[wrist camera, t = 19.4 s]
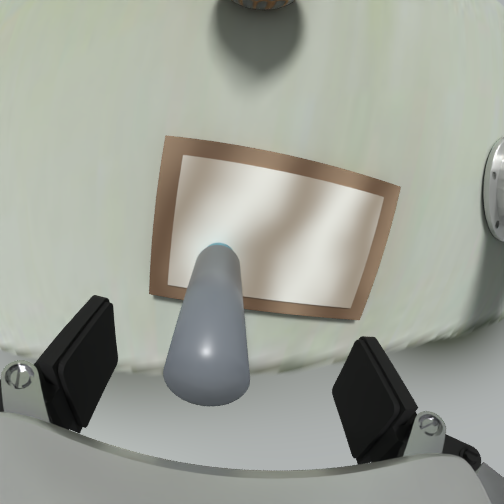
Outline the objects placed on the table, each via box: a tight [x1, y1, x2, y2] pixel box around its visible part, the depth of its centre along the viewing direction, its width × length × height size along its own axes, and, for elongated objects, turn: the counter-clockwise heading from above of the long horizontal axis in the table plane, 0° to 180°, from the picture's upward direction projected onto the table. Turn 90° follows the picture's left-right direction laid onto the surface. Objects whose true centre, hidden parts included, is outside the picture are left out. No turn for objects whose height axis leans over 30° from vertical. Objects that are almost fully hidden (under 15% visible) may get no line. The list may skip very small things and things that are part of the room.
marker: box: [163, 243, 250, 406], centre depth 14 cm, size 3×3×12 cm
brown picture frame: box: [149, 136, 401, 320], centre depth 21 cm, size 18×12×1 cm, turn 79°
